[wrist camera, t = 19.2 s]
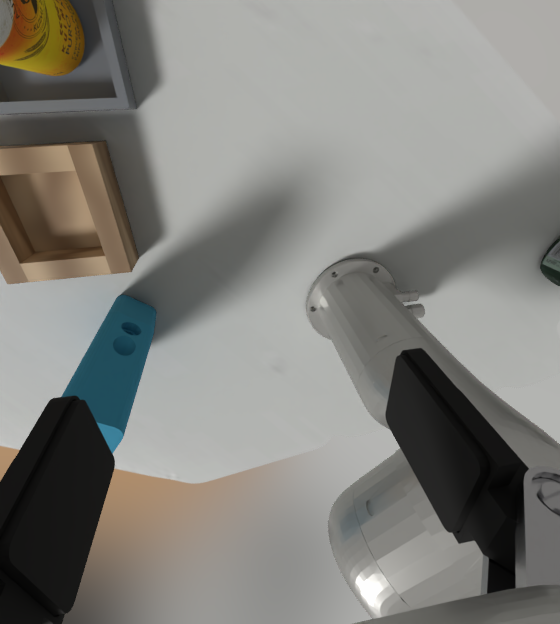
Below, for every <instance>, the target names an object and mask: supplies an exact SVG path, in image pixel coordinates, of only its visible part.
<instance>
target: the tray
mask: <svg viewBox="0 0 560 624" xmlns="http://www.w3.org/2000/svg"><path fill="white" fill-rule="evenodd" d="M69 2H70V3H71V5H72V6H73V8H74V9H75V11H76V13H77V15H78V17H79V19H80V22H81V25H82V28H83V32H84V39H85V48H84V54H83V57H82V60H81V62H80V64H79V65H78V66H77V68H76V69H74V70H73V71H72V72H70V73H68V74H66V75H62V76H50V75H45V74H41V73H36V72H32V71H27V70H23V69H19V68H14V67H10V66H5V65H1V64H0V115H9V114H32V113H55V112H78V111H102V110H125V109H137V107H136V102H135V98H134V94H133V89H132V85H131V81H130V76H129V72H128V68H127V63H126V59H125V55H124V50H123V46H122V42H121V37H120V33H119V29H118V24H117V20H116V16H115V11H114V7H113V3H112V0H69Z"/></svg>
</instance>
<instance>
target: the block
mask: <svg viewBox="0 0 560 624" xmlns="http://www.w3.org/2000/svg"><path fill="white" fill-rule="evenodd" d="M155 320H156V310H155V309H154V308H153V307H151V306H149V305H147V304H144V303H142V302H140V301H138V300H136V299H133V298H131V297H129V296H127V295H120V296H118V297H117V298H116V300H115V302H114V304H113V305H112V307H111V309H110V311H109V312H108V314H107V316H106V318H105V320H104V321H103V323H102V325H101V327H100V329H99V330H98V332H97V334H96V336H95V338H94V339H93V341H92V343H91V345H90V346H89V348H88V350H87V352H86V354H85V355H84V357H83V359H82V361H81V363H80V364H79V366H78V368H77V370H76V372H75V373H74V375H73V377H72V379H71V381H70V382H69V384H68V386H67V388H66V390H65V391H64V393H63V395H62V397H66V396H78V397H79V399H80V400H85V401H86V402H87V404H88V406H89V408H90V410H91V412H92V414H93V416H94V418H95V420H96V422H97V424H98V426H99V428H100V430H101V432H102V434H103V436H104V438H105V440H106V442H107V444H108V446H109V448H110V450H111V452H112V453H113V452H114V451H115V449H116V448H117V446H118V445H119V443H120V442H121V440H122V439H123V436H124V433H125V429H126V426H127V422H128V419H129V416H130V412H131V409H132V406H133V402H134V399H135V395H136V392H137V389H138V385H139V382H140V379H141V375H142V372H143V368H144V365H145V362H146V358H147V355H148V352H149V348H150V345H151V341H152V338H153V335H154V328H155Z"/></svg>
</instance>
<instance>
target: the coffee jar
mask: <svg viewBox="0 0 560 624" xmlns="http://www.w3.org/2000/svg"><path fill="white" fill-rule="evenodd" d="M540 269H541V272H542V273H543V274H544V276H545V277H546V278H547V279H549V280H550V281H551V282H553V283H554V284H556V285H558V286H560V239H558V240H557V241H556V242H555V243H554V244H553V245H552V246H551V247H550V248H549V250H548V251H547V253H546V255H545V256H544V258H543V260H542V262H541V265H540Z"/></svg>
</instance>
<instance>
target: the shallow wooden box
mask: <svg viewBox="0 0 560 624" xmlns="http://www.w3.org/2000/svg"><path fill="white" fill-rule="evenodd" d="M138 259H139V256H138V252H137V249H136V245H135V242H134V238H133V235H132V231H131V228H130V224H129V221H128V217H127V214H126V210H125V207H124V203H123V200H122V196H121V193H120V189H119V186H118V182H117V179H116V175H115V172H114V168H113V165H112V161H111V158H110V154H109V151H108V147H107V144H106V141H91V142H72V143H53V144H35V145H16V146H0V271H1V273H2V275H3V277H4V278H5V280H6V282H7V284H15V283H25V282H35V281H45V280H55V279H66V278H76V277H86V276H96V275H106V274H116V273H126V272H132V270H133V268H134V266H135V264H136V263H137V261H138Z"/></svg>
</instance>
